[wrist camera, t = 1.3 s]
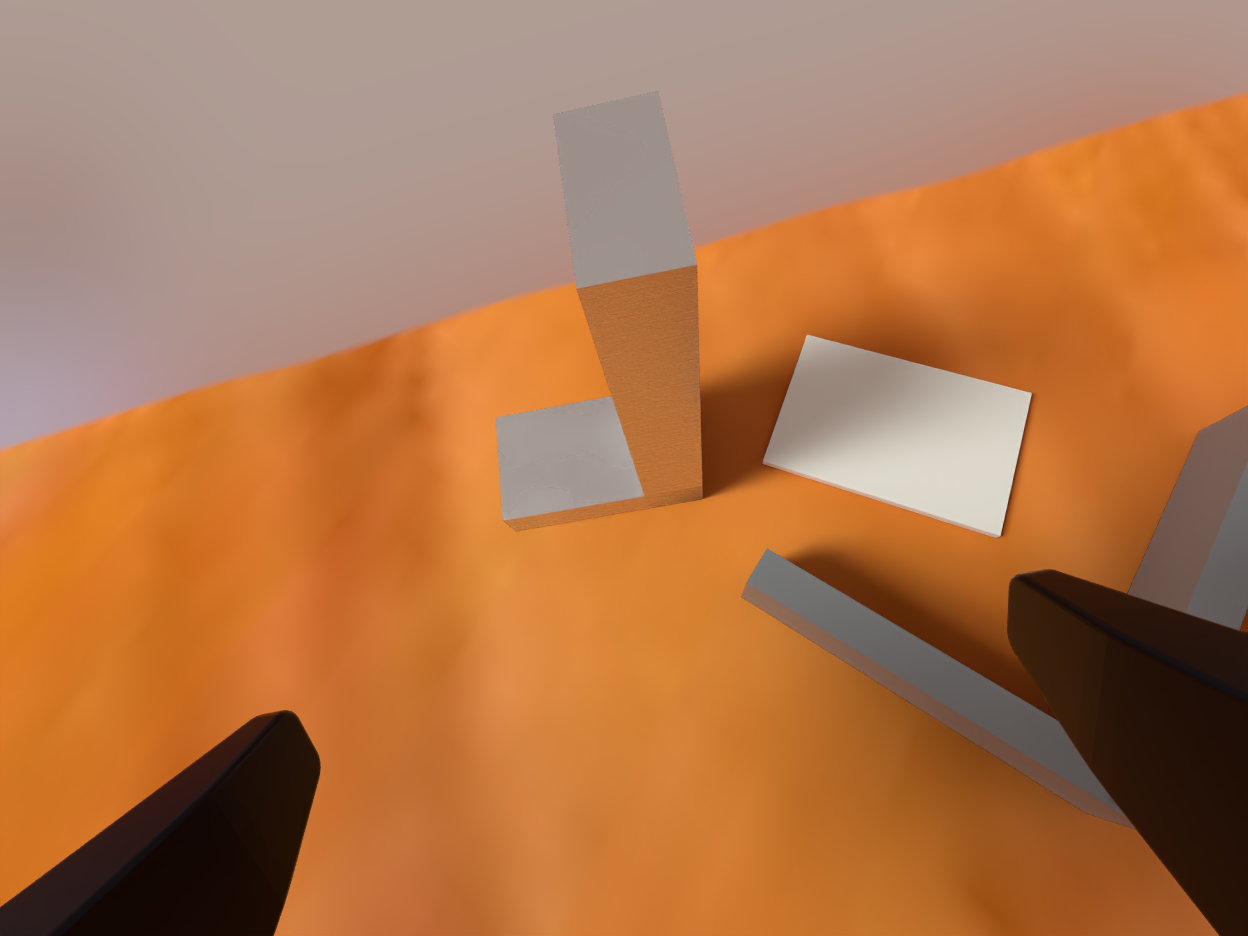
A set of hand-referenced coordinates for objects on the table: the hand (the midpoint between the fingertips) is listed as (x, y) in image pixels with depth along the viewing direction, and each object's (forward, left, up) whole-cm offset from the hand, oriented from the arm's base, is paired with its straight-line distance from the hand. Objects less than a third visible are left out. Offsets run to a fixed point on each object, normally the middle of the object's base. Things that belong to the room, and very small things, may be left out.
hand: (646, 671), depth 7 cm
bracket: (+7, -5, -13) cm, 16 cm away
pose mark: (-2, -11, -13) cm, 18 cm away
